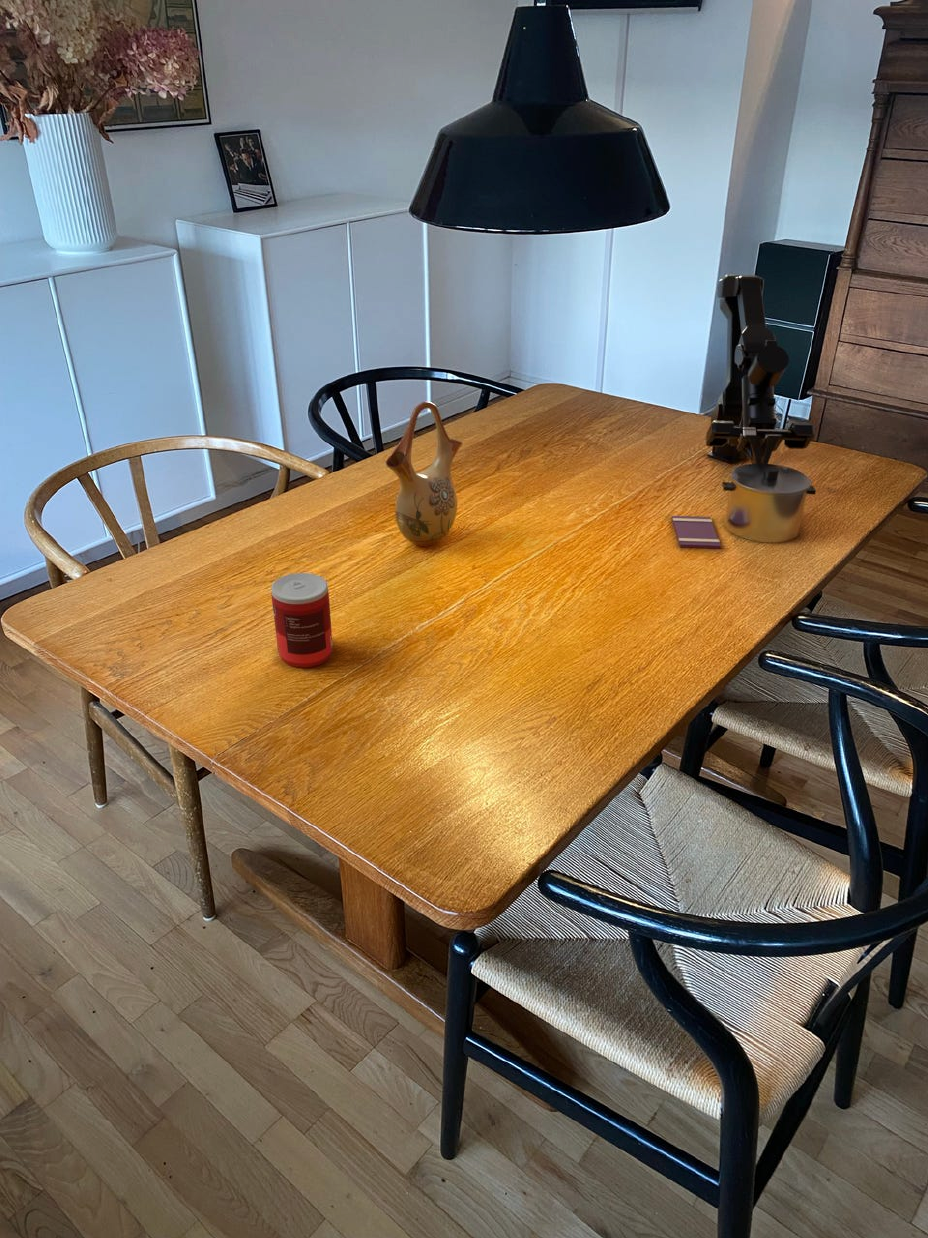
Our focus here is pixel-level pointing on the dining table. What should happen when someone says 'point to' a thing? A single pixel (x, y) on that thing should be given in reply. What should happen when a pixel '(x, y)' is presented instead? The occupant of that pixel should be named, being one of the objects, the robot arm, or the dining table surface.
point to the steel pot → (766, 502)
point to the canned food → (302, 619)
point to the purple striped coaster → (695, 532)
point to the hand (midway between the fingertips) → (760, 477)
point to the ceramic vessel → (425, 486)
